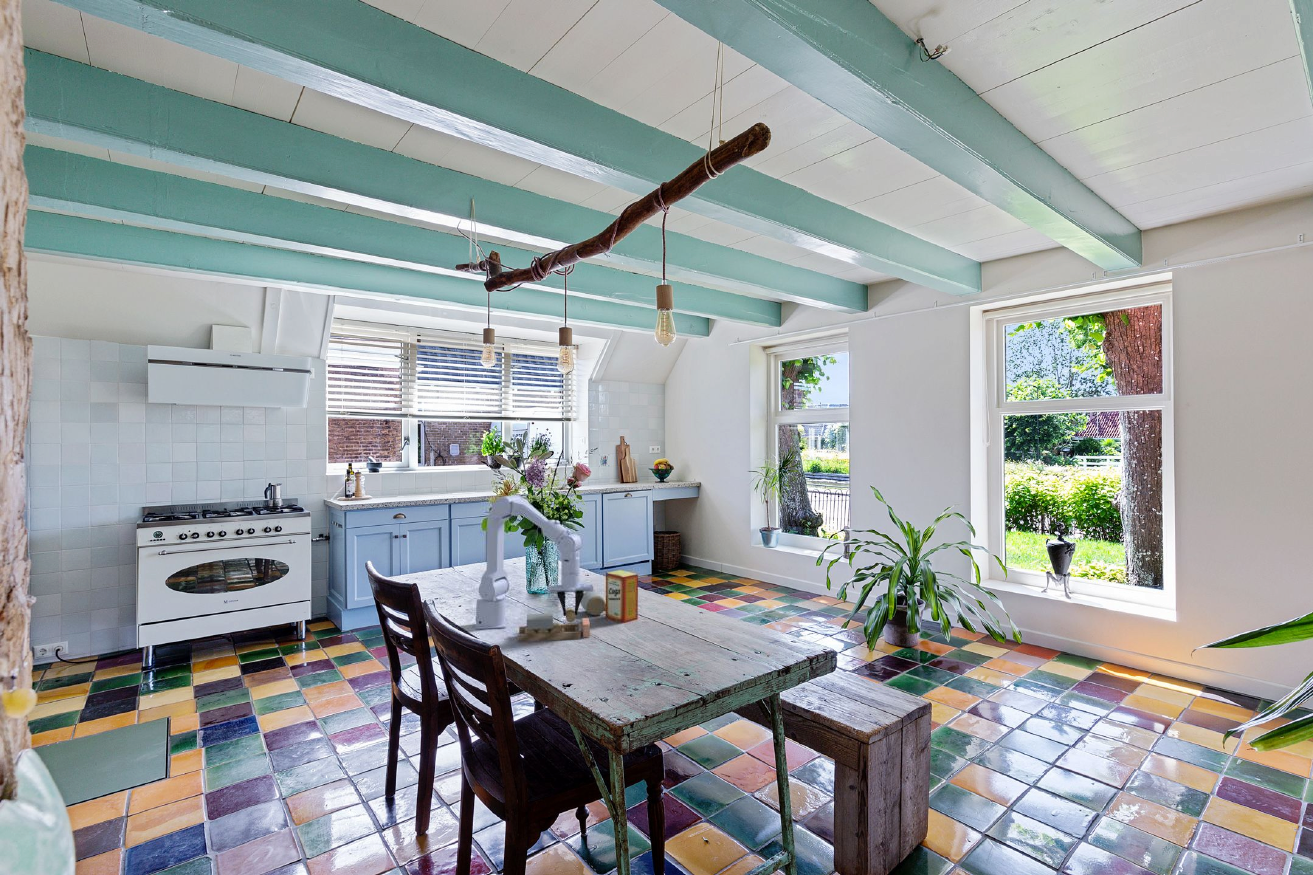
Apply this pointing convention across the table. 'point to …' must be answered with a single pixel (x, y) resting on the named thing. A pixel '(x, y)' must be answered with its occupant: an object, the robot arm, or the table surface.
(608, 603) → the baking soda box
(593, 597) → the ceramic mug
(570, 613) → the roller
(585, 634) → the block
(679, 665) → the table surface
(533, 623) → the slab
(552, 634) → the roller track
